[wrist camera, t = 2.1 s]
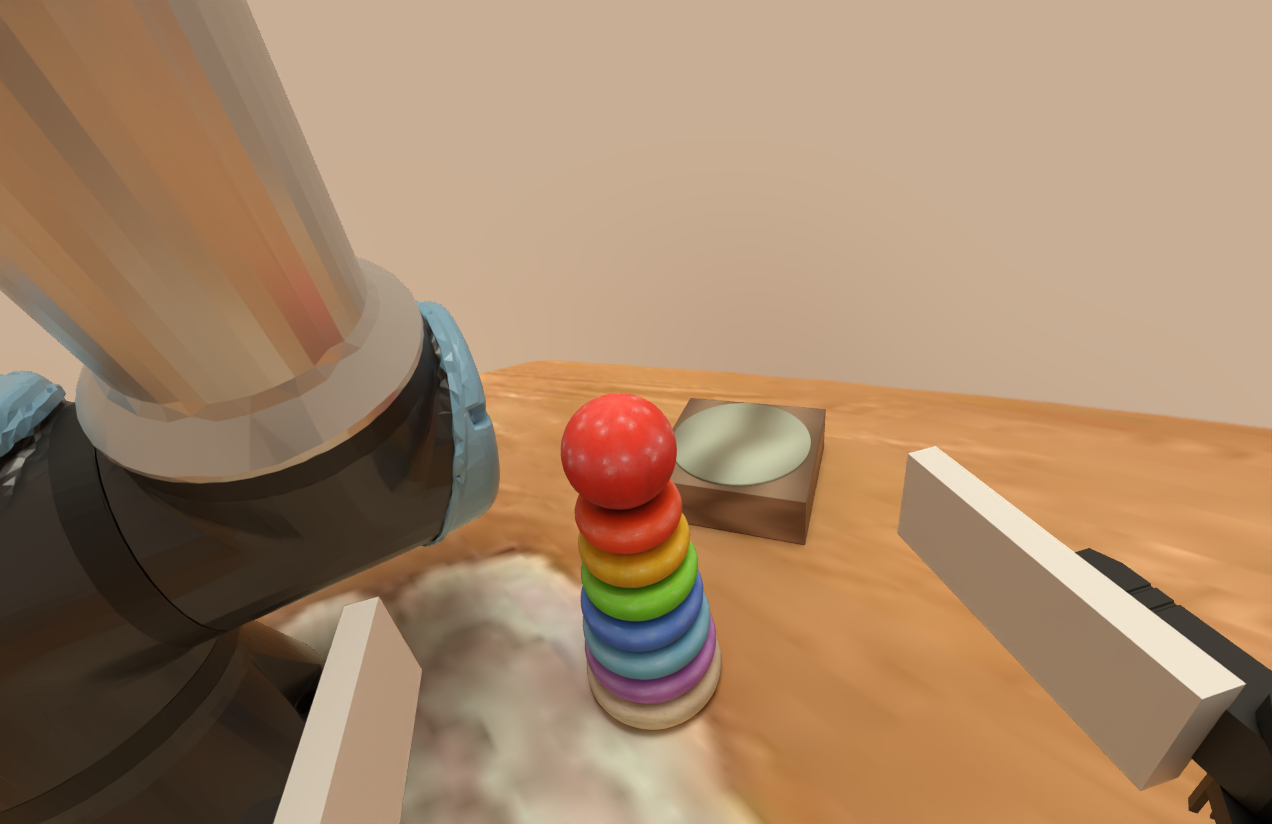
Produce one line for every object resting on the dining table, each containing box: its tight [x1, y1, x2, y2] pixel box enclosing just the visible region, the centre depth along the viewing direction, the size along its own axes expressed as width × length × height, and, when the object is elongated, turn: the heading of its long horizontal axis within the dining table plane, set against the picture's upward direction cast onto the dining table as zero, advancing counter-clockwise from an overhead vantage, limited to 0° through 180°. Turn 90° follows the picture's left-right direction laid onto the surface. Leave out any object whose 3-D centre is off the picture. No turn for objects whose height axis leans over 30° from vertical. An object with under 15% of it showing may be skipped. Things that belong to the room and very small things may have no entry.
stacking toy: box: [561, 393, 721, 730], centre depth 27 cm, size 8×8×19 cm
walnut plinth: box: [670, 398, 826, 545], centre depth 44 cm, size 12×12×4 cm
